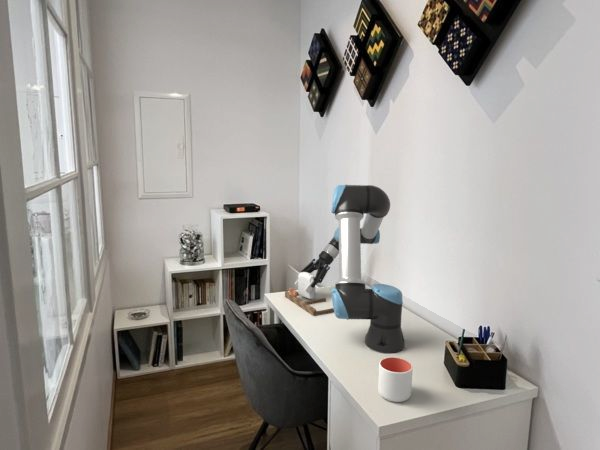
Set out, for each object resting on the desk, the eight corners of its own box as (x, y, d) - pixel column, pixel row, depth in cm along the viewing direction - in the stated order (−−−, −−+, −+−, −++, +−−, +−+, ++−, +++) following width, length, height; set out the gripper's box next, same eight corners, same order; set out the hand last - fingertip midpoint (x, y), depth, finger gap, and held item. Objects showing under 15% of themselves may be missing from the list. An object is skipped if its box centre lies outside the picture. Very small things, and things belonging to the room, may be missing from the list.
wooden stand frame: (341, 310, 202) (341, 298, 201) (313, 316, 195) (313, 303, 194) (310, 292, 228) (310, 281, 227) (285, 296, 221) (285, 285, 220)
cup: (395, 407, 126) (397, 376, 125) (371, 392, 134) (372, 362, 133) (417, 397, 132) (419, 366, 130) (392, 382, 140) (394, 354, 138)
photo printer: (296, 294, 220) (297, 271, 218) (303, 292, 223) (303, 269, 221) (309, 300, 212) (310, 275, 210) (316, 298, 215) (316, 274, 213)
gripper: (345, 264, 212) (317, 299, 207) (321, 254, 232) (295, 286, 227) (336, 255, 209) (307, 290, 204) (313, 245, 228) (286, 278, 223)
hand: (301, 288), depth 215 cm, fingers closed on photo printer, 10 cm apart
